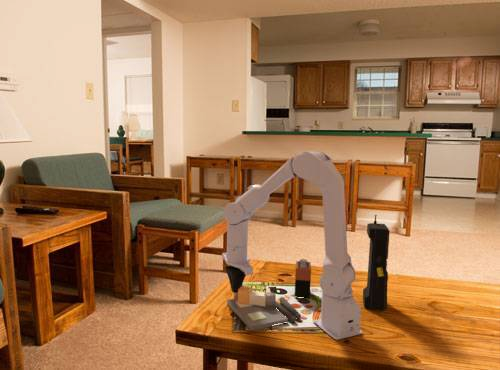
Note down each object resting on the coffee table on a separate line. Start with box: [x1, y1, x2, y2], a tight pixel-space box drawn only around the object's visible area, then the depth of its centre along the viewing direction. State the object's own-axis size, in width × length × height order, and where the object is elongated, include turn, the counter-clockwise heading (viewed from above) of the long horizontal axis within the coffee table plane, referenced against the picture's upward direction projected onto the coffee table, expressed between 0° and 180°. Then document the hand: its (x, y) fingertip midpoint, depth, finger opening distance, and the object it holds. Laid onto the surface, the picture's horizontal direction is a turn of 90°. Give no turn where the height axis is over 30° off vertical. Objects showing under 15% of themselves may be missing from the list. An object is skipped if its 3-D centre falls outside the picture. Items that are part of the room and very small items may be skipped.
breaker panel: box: [226, 297, 289, 332], centre depth 104 cm, size 16×11×2 cm
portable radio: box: [362, 214, 391, 311], centre depth 108 cm, size 8×6×25 cm
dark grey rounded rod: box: [279, 297, 302, 320], centre depth 105 cm, size 12×2×2 cm, turn 19°
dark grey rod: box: [275, 300, 297, 323], centre depth 105 cm, size 16×2×2 cm, turn 25°
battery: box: [294, 258, 312, 299], centre depth 116 cm, size 4×7×10 cm, turn 173°
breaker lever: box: [237, 285, 277, 308], centre depth 106 cm, size 3×10×4 cm, turn 71°
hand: (236, 291), depth 111 cm, fingers closed
